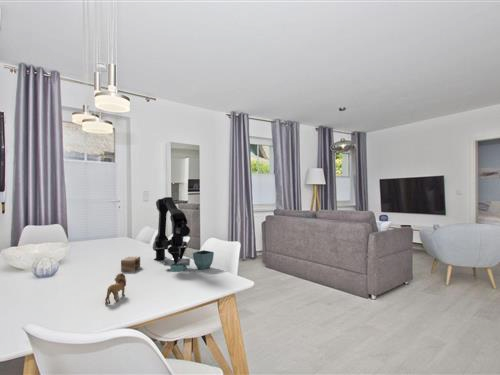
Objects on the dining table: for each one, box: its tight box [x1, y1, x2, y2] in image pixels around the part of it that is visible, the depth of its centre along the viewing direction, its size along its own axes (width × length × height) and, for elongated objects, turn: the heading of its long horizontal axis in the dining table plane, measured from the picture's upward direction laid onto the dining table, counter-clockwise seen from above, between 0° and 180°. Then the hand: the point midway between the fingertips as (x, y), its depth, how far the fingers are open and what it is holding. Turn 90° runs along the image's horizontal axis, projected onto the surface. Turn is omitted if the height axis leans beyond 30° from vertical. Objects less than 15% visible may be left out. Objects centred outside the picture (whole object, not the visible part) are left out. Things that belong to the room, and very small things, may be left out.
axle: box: [163, 257, 191, 267], centre depth 163 cm, size 4×14×4 cm, turn 87°
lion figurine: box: [104, 272, 127, 305], centre depth 118 cm, size 15×5×9 cm, turn 7°
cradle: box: [169, 265, 187, 272], centre depth 163 cm, size 8×7×2 cm
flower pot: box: [192, 249, 215, 270], centre depth 165 cm, size 9×9×9 cm
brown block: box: [120, 256, 141, 272], centre depth 165 cm, size 9×7×6 cm
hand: (178, 261), depth 163 cm, fingers open, 9 cm apart
